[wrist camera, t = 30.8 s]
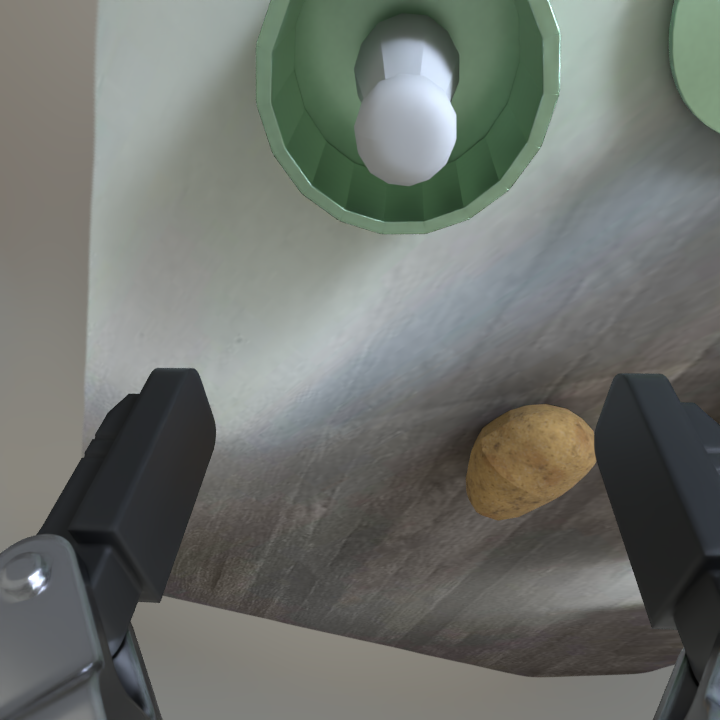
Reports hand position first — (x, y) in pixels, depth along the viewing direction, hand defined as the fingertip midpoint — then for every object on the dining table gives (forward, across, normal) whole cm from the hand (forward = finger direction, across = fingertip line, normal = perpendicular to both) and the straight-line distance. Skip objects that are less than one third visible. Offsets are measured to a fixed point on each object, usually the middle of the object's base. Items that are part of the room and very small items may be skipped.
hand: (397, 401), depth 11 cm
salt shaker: (+28, 0, 0) cm, 28 cm away
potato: (+28, -11, +32) cm, 44 cm away
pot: (+28, 0, 0) cm, 28 cm away
